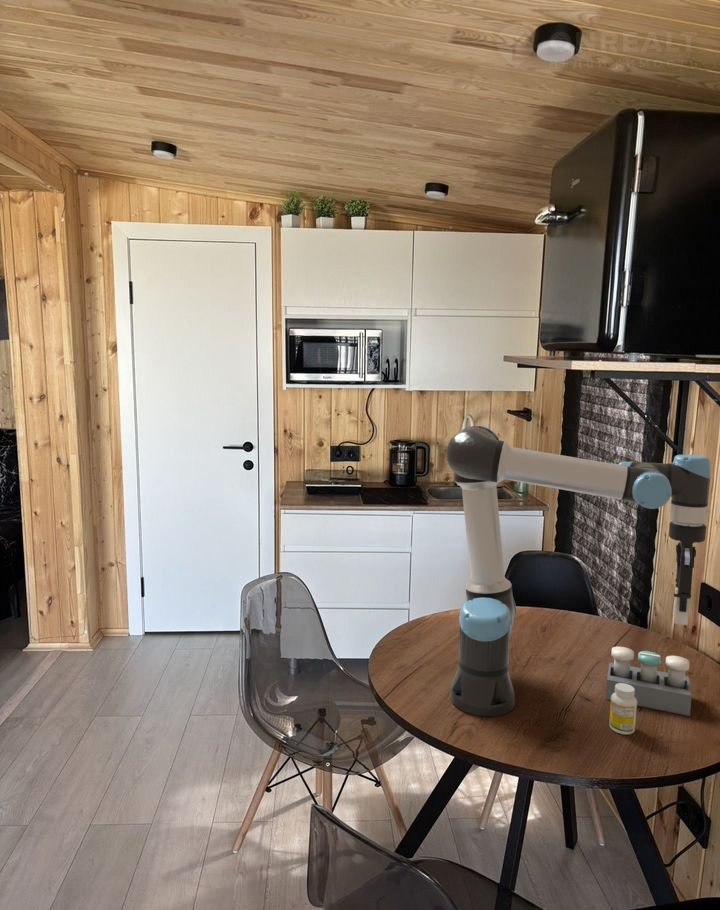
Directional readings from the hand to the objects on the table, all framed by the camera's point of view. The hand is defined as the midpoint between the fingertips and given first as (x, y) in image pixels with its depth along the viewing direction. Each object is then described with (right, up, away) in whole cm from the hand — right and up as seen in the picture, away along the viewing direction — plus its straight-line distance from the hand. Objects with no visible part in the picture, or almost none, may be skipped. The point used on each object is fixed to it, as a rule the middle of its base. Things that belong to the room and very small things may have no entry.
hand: (680, 619), depth 148 cm
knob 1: (-11, -16, +7) cm, 20 cm away
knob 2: (0, -16, +2) cm, 16 cm away
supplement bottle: (-17, -22, -8) cm, 29 cm away
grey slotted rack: (-6, -20, +5) cm, 22 cm away
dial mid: (-6, -16, +5) cm, 17 cm away
